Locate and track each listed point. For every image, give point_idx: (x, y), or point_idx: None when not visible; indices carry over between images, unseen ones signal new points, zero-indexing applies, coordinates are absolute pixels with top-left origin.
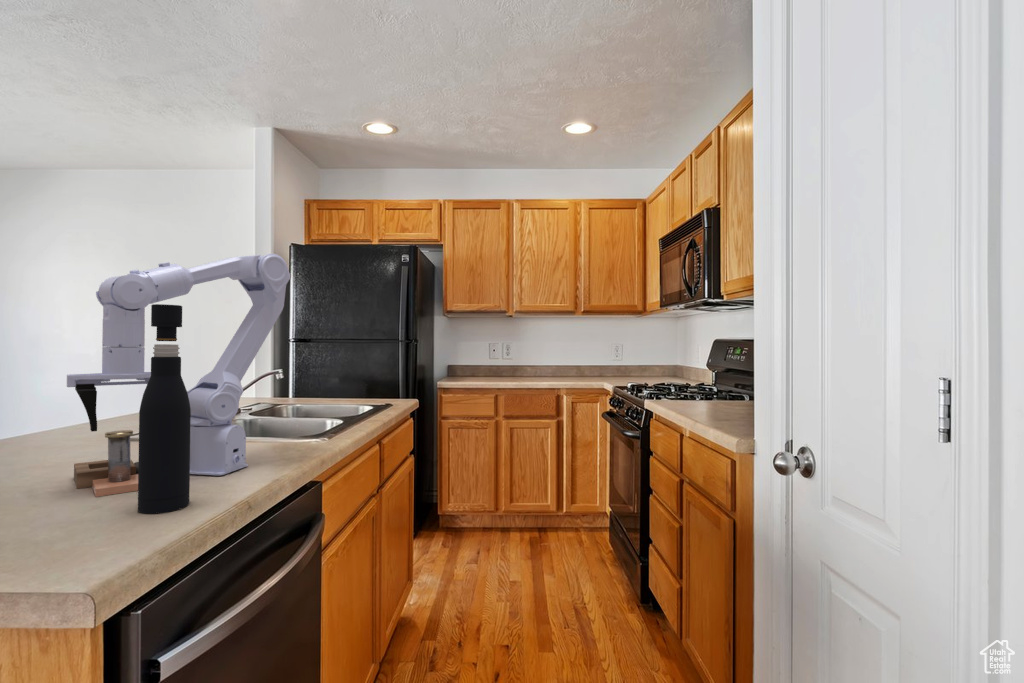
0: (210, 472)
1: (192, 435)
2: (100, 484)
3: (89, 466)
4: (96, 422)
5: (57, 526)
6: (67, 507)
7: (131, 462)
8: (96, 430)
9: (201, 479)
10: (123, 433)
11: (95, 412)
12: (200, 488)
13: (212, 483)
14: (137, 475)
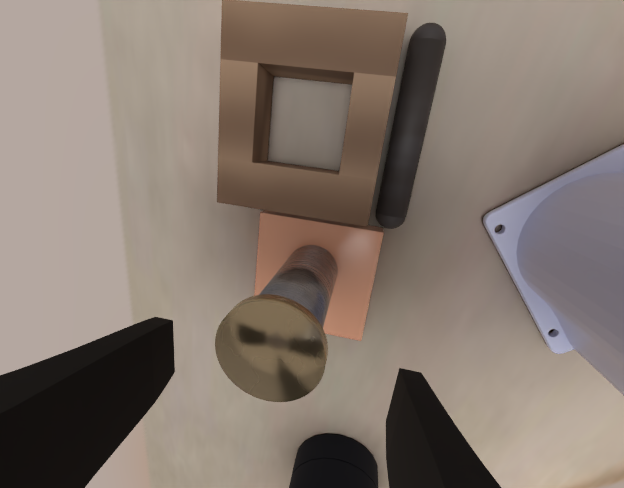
0: (544, 321)
1: (613, 336)
2: (267, 281)
3: (265, 64)
4: (141, 417)
5: (193, 433)
6: (210, 344)
7: (378, 141)
8: (170, 374)
9: (496, 333)
10: (275, 400)
11: (88, 476)
12: (445, 407)
13: (490, 389)
14: (363, 246)
